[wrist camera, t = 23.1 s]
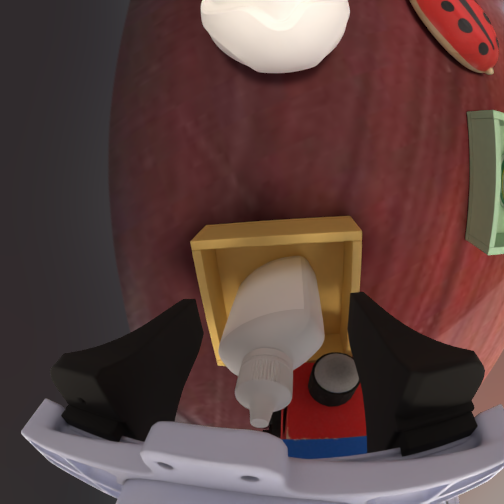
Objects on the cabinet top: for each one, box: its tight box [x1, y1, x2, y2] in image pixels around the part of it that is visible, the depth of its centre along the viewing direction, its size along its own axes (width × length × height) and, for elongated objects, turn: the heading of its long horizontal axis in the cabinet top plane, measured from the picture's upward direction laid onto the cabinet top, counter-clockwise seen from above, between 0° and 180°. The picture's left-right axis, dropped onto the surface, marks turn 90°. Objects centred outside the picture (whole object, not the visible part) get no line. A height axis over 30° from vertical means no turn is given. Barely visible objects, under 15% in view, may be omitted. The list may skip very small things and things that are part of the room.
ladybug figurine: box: [410, 0, 499, 75], centre depth 9 cm, size 7×10×4 cm
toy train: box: [263, 352, 367, 459], centre depth 16 cm, size 9×20×15 cm, turn 0°
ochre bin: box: [190, 216, 362, 366], centre depth 19 cm, size 10×10×4 cm
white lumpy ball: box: [201, 0, 350, 73], centre depth 11 cm, size 8×8×8 cm
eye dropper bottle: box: [218, 256, 325, 428], centre depth 15 cm, size 4×6×12 cm
